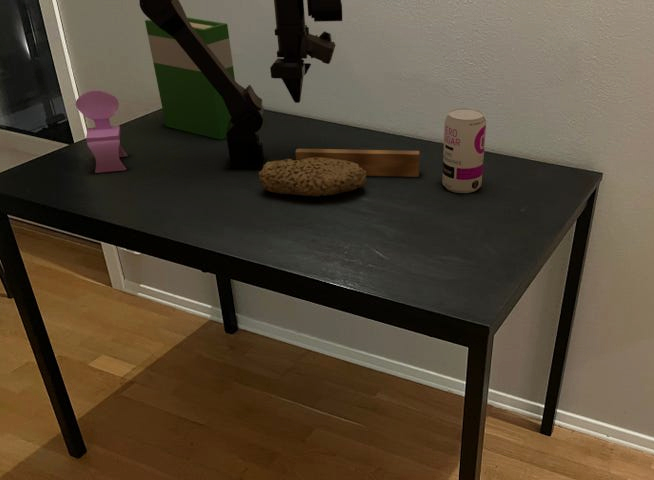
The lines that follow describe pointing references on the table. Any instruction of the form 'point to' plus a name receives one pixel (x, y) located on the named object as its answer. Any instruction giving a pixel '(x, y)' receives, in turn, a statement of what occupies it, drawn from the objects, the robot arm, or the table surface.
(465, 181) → the supplement can
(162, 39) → the hardback book
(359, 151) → the back rail
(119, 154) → the toy chair
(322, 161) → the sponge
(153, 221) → the table surface
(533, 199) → the table surface
